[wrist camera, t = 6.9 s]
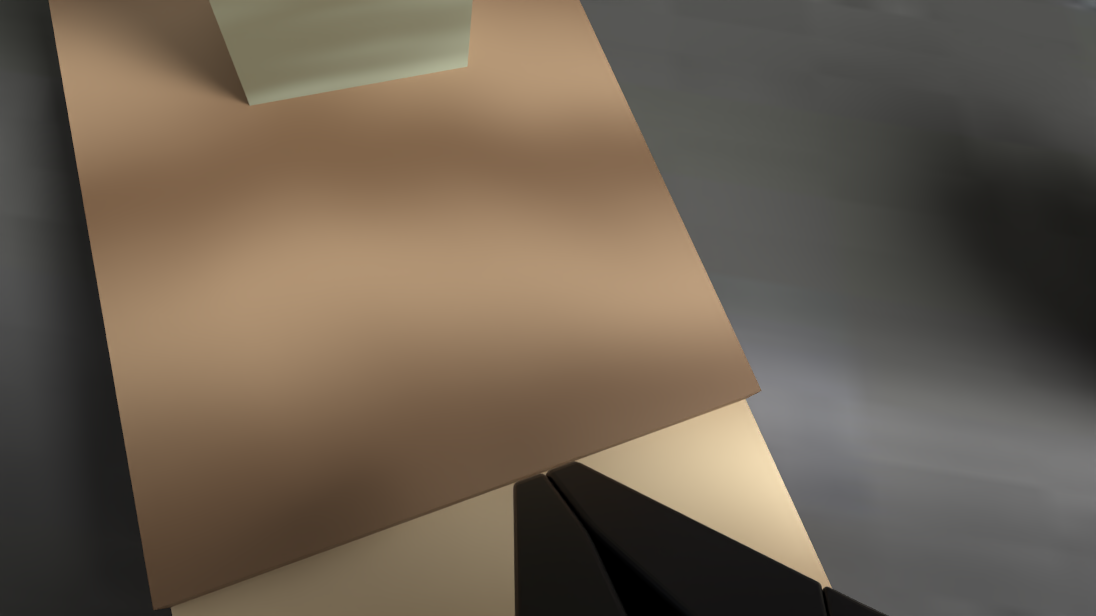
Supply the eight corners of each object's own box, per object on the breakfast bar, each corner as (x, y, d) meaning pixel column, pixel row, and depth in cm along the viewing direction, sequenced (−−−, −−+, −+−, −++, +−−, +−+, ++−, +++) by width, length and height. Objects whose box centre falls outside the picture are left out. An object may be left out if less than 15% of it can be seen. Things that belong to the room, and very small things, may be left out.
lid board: (744, 399, 15) (1221, 148, 6) (170, 607, 12) (-668, 742, 3) (534, -61, 19) (630, -627, 10) (61, 0, 16) (-430, -755, 7)
